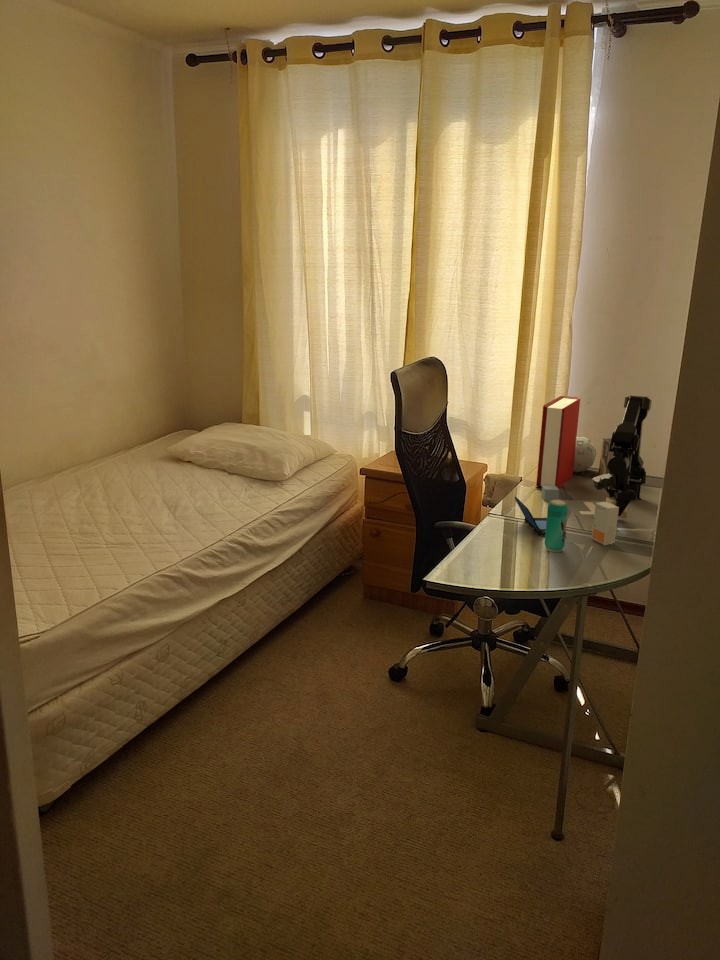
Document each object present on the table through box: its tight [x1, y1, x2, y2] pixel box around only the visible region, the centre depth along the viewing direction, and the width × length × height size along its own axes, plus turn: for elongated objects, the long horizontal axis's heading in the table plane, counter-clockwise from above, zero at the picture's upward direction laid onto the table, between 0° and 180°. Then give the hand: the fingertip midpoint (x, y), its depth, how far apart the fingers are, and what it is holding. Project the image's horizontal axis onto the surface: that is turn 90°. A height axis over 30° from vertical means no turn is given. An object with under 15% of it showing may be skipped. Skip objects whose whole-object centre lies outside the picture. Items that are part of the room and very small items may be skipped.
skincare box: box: [591, 502, 619, 546], centre depth 228 cm, size 6×4×12 cm
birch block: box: [605, 496, 629, 519], centre depth 247 cm, size 6×6×6 cm
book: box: [535, 395, 581, 490], centre depth 292 cm, size 27×8×32 cm, turn 152°
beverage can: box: [544, 498, 569, 553], centre depth 220 cm, size 6×6×15 cm
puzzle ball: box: [573, 435, 597, 473], centre depth 309 cm, size 15×15×15 cm
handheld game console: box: [514, 496, 567, 537], centre depth 239 cm, size 16×13×9 cm
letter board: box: [563, 499, 606, 517], centre depth 261 cm, size 18×18×1 cm
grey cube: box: [540, 486, 560, 502], centre depth 270 cm, size 5×5×5 cm
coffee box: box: [597, 437, 615, 476], centre depth 298 cm, size 9×6×16 cm
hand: (615, 513), depth 247 cm, fingers closed on birch block, 5 cm apart
